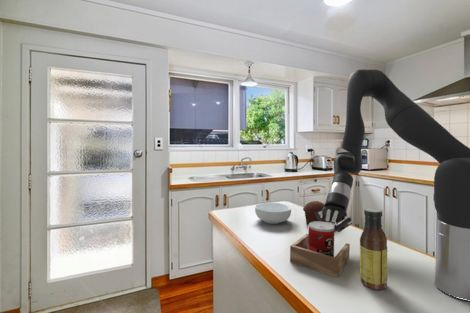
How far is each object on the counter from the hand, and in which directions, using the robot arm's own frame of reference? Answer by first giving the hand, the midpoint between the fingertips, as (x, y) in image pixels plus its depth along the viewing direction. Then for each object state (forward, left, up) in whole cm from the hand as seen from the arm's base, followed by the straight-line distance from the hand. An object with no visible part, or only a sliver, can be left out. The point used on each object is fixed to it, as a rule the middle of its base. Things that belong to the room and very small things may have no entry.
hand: (326, 240), depth 80 cm
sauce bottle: (-5, +18, -5) cm, 19 cm away
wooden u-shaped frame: (+4, +5, -4) cm, 8 cm away
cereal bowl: (+12, -33, -5) cm, 36 cm away
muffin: (-7, -29, -5) cm, 30 cm away
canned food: (+3, +4, -5) cm, 7 cm away
